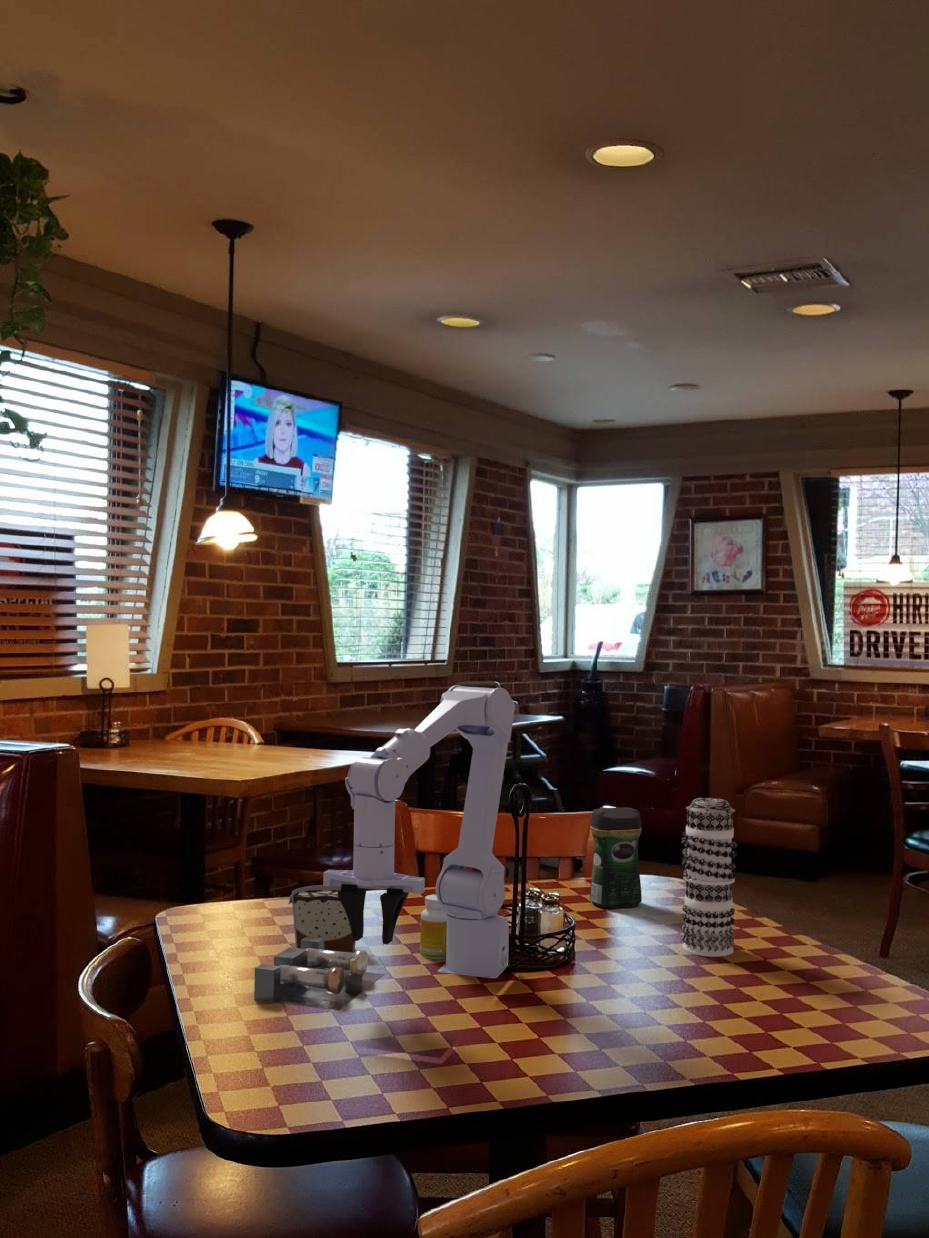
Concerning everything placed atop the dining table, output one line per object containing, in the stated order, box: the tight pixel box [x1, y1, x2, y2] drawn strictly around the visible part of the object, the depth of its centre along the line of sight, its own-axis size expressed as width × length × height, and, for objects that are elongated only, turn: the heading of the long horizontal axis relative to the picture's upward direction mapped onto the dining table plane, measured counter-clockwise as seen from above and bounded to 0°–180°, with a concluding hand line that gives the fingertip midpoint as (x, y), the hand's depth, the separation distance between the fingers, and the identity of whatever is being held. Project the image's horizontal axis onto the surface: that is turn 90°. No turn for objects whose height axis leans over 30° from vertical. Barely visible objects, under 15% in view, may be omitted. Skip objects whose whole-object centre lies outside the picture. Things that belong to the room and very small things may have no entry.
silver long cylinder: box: [307, 948, 369, 976], centre depth 174 cm, size 9×4×4 cm, turn 73°
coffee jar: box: [589, 807, 643, 909], centre depth 224 cm, size 10×8×19 cm
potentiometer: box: [344, 959, 363, 993], centre depth 169 cm, size 3×3×4 cm
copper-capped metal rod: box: [280, 965, 344, 994], centre depth 166 cm, size 9×4×4 cm, turn 73°
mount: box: [253, 937, 385, 1011], centre depth 170 cm, size 13×17×5 cm
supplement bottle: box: [419, 894, 447, 960], centre depth 188 cm, size 5×5×10 cm
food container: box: [288, 884, 357, 953], centre depth 191 cm, size 12×6×10 cm, turn 84°
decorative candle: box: [681, 797, 738, 958], centre depth 194 cm, size 9×9×25 cm
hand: (372, 940), depth 163 cm, fingers open, 4 cm apart
